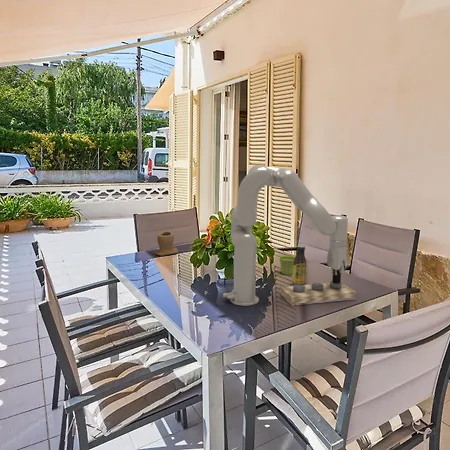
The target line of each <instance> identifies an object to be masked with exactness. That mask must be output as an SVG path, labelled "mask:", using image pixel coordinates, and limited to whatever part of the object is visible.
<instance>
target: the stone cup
mask: <svg viewBox="0 0 450 450" xmlns="http://www.w3.org/2000/svg"><path fill="white" fill-rule="evenodd" d="M174 240H175V235H174V233H173V232H172V231H169V230H168V231H167V230H165V231H162V232H159V233H158V234H157V244H158V246H159V247H158V248H159V249H158V250H156V251H154V253H155V255H157V256H161V257H162V256H168V255H173V254H178V253H179V250H178V248H177V247H176V246H174V245H173V244H174ZM173 246H174V247H173Z"/></svg>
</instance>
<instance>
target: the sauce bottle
mask: <svg viewBox="0 0 450 450" xmlns="http://www.w3.org/2000/svg"><path fill="white" fill-rule="evenodd" d="M305 250H306V246H305V245H296V256H294V257H295V259H294V264H293V274H292V281H291V282H292V286H293V285H296V284H300V285H304V284H305V283H306V274H307V258H306V256H305V252H306V251H305ZM305 285H306V284H305Z"/></svg>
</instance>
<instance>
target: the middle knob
mask: <svg viewBox="0 0 450 450" xmlns="http://www.w3.org/2000/svg"><path fill="white" fill-rule="evenodd" d="M311 284H312V290H315V291H322V290H323V287H324V285H323V284H322V283H321V282H313V283H311Z"/></svg>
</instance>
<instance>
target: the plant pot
mask: <svg viewBox="0 0 450 450" xmlns="http://www.w3.org/2000/svg"><path fill="white" fill-rule="evenodd" d="M295 257H296V256H293V255H281V256H279V257H278V259H279V263H280V272H281V274H283V275H285V276H290V275H293V264H294V259H295Z"/></svg>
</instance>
